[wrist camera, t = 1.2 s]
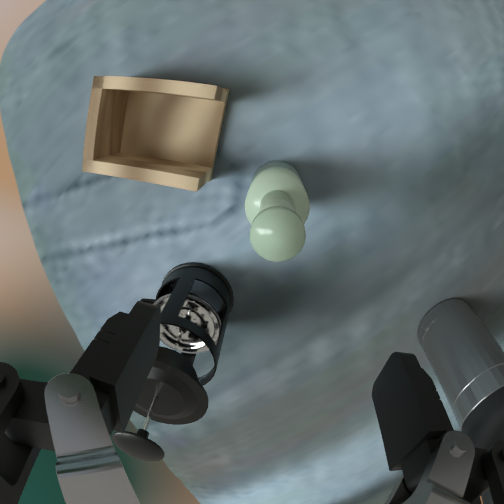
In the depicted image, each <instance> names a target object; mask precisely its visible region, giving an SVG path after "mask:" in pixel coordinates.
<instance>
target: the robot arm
mask: <svg viewBox="0 0 504 504" xmlns="http://www.w3.org/2000/svg"><path fill="white" fill-rule="evenodd" d="M160 322H161V308H160V306H156V305H152V304H149V303H145V302H141V301H138V302H137V303H136V304H135V306H134V307H133V309H132V310H131V311H130V313H129V314H127V313H123V312H119V313H117V314H115V315H114V316H112V317H110V318H109V319H108V320H107V321H106V322H105V324H104V325H103V326H102V328H101V330H100V331H99V332H98V333H97V335H96V336H95V338H94V340H92V342H91V343H90V345H89V346H88V348H87V349H86V350H85V352H84V354H83V355H82V356H81V358H80V359H79V361H78V362H77V364H76V365H75V367H74V368H73V370H72V371H71V372H70V373H65V374H60V375H58V376H56V377H54V378H52V379H51V380H50V381H49V382H37V381H31V380H24V379H20V378H19V375H18V373H17V371H16V370H15V368H13V367H12V366H11V365H9V364H7V363H2V362H0V504H18V501H19V499H20V496H21V494H22V491H23V489H24V487H25V484H26V482H27V479H28V477H29V475H30V472H31V470H32V468H33V465H34V463H35V461H36V459H37V456H38V454H39V452H40V450H41V449H46V450H53V451H55V452H56V456H57V463H56V472H57V476H58V480H59V483H60V486H61V490H62V493H63V496H64V499H65V502H66V504H140V503H139V500H138V499H137V496H136V494H135V492H134V490H133V488H132V486H131V484H130V482H129V479H128V477H127V475H126V472H125V470H124V468H123V466H122V463H121V461H120V459H119V456H118V454H117V453H116V451H115V449H114V446H113V444H112V441H111V438H110V436H111V434H112V431H113V430H114V431H117V432H120V433H124V430H125V428H126V426H127V424H128V421H129V419H130V416H131V414H132V412H133V409H134V407H135V405H136V402H137V400H138V398H139V395H140V393H141V391H142V389H143V386H144V384H145V382H146V379H147V377H148V375H149V373H150V370H151V368H152V366H153V364H154V362H155V359H156V357H157V353H158V349H159V343H160ZM418 339H419V342H420V344H421V346H422V348H423V350H424V352H425V354H426V356H427V358H428V360H429V362H430V364H431V366H432V368H433V370H434V372H435V374H436V376H437V378H438V380H439V382H440V384H441V387H442V389H443V391H444V393H445V395H446V397H447V400H448V402H449V404H450V406H451V409H452V411H453V413H454V415H455V417H456V420H457V422H458V425H459V427H460V429H461V432H460V431H456V430H453V427H452V425H451V422H450V420H449V418H448V415H447V413H446V410H445V408H444V406H443V403H442V401H441V400H440V396H439V394H438V392H437V391H436V387H435V385H434V383H433V381H432V379H431V377H430V376H429V375H428V374H427V373H426V372H425V371H424V369H422V368H421V367H420V365H419V362H418V360H417V358H416V356H415V355H414V354H410V353H401V352H394V353H392V354H391V356H390V357H389V359H388V361H387V362H386V364H385V366H384V367H383V369H382V371H381V372H380V374H379V376H378V377H377V379H376V381H375V382H374V385H373V389H372V398H373V402H374V406H375V410H376V414H377V418H378V422H379V426H380V430H381V434H382V439H383V443H384V447H385V452H386V456H387V461H388V466H389V470H390V471H394V470H402V471H403V475H402V476H401V477H400V478H399V479H398V481H397V482H396V484H395V486H394V488H393V490H392V492H391V493H390V495H389V497H388V499H387V500H386V502H385V504H481V500H480V496H482V500H483V504H504V352H503V351H502V348H501V347H500V345H499V344H498V343H497V341H496V340H495V338H494V337H493V336H492V334H491V333H490V332H489V331H488V329H487V328H486V327H485V325H484V324H483V323H482V321H481V320H480V319H479V318H478V316H477V315H476V314H475V313H474V312H473V311H472V310H471V309H470V307H469V306H468V305H467V304H466V303H465V302H464V301H462V300H460V299H449V300H446V301H443V302H441V303H439V304H438V305H436V306H435V307H433V308H432V309H431V310H430V311H429V312H428V313H427V314H426V316H425V317H424V319H423V320H422V322H421V324H420V326H419V330H418Z"/></svg>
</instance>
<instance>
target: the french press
mask: <svg viewBox="0 0 504 504" xmlns="http://www.w3.org/2000/svg"><path fill="white" fill-rule="evenodd" d="M177 279H179V281H178V283H177V284H176V286H175V288H174V290H173V292H172V293H171V286H172V284H173V283H174V281H175V280H177ZM195 280H198V281H201V282H204V283H206V284H208V285H209V286H211V287H212V288H213V289H215V290H216V291H217V292H218V293H219V295H220V296H221V298H222V299H223V304H222V307H221V309H220V310H219V312H218V313H217V312H216V310H215V309H214V308H213V307H212V306H211V305H210V304H209V303H208V302H207V301H205V300H204V299H203V298H201V297H199V296H197V295H195V294H192V293H189V292H190V290H191V288H192V285H193V283H194V281H195ZM140 301H141V302H145V303H149V304H152V305H156V306H160V308H161V322H160V340H161V341H162V342H163V343H164V344H165V345H167V346H168V347H170V348H172V349H173V350H171V349H168V348H165V347H160V346H159V349H158V353H157V357H156V359H155V362H154V364H153V366H152V368H151V370H150V373H149V375H148V377H147V379H146V382H145V384H144V386H143V389H142V391H141V393H140V395H139V398H138V400H137V402H136V405H135V407H134V409H133V410H134V411H135V412H137V413H139V414H140V415H142V416H144V417H146V420H145V423H144V426H143V428H142V429H138V431H137V434H135V433H132V432H127V431H124V433H120V432H115V433H114V434H113V436H112V438H113V442H114V443H115V444H116V446H118V447H119V448H120V449H121V450H122V451H124V452H125V453H127V454H129V455H130V456H133V457H135V458H138V459H141V460H145V461H160V460H162V459H163V458H164V451H163V450H162V448H161V447H160V446H159V445H157V444H156V443H155V442H153V441H151V440H150V439H148V435H149V433H148V432H147V431H146V430H147V427H148V424H149V422H150V419H151V420H154V421H157V422H161V423H166V424H174V425H177V424H188V423H192V422H195V421H197V420H199V419H200V418H202V417H203V415H204V414H205V413H206V411H207V408H208V396H207V393H206V391H205V389H204V388H203V385H205V384H206V383H208V382H209V381H210V380H211V379H212V378H213V376H214V374H215V372H216V368H217V364H218V360H219V355H220V351H221V346H222V342H223V337H224V333H225V329H226V324H227V320H228V316H229V313H230V312H231V309H232V306H233V292H232V289H231V286H230V284H229V283H228V281H227V279H226V278H225V277H224V276H223V275H222V274H221V273H220V272H218V271H217V270H216V269H214V268H212V267H210V266H207V265H204V264H200V263H185V264H181V265H178V266H176V267H174V268H173V269H172V270H170V271H169V272H168V274H167V275H166V276H165V278H164V280H163V282H162V286H161V287H160V289H159V291H158V293H157V295H156V300H155V299H141V300H140ZM176 350H177V351H180V352H182V353H181V354H180V353H178V352H176ZM208 350H210V351H211V353H212V356H213V358H214V363H215V366H214V367H213V369H212V370H211V371H210V372H209V373H208V374H206V375H204V376H202V377H200V378H198V377H197V374H196V371H195V369H194V368H193V362H194V359H195V356H196V353H202V352H205V351H208Z"/></svg>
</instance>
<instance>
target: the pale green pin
mask: <svg viewBox="0 0 504 504" xmlns="http://www.w3.org/2000/svg"><path fill="white" fill-rule="evenodd" d="M309 209H310V204H309V198H308V196H307V193H306V191H305V188H304V186H303V183H302V181H301V178H300V176H299V174H298V172H297V171H296V169H295V168H294V167H293V166H291V165H290V164H288V163H286V162H283V161H270V162H267V163H265V164H263V165H262V166H261V167H260V168H259V169H258V170H257V171H256V173H255V175H254V177H253V180H252V183H251V185H250V188H249V191H248V194H247V197H246V200H245V212H246V216H247V219H248V221H249V222H250V224H251V230H250V241H251V244H252V247H253V248H254V250H255V251H256V252H257V253H258V254H259V255H260V256H261V257H263V258H265V259H267V260H270V261H277V262H279V261H286V260H289V259H291V258H293V257H294V256H296V255H297V254H298V253H299V252H300V250H301V249H302V247H303V245H304V243H305V237H306V234H305V228H304V223H305V222H306V220H307V218H308V215H309Z"/></svg>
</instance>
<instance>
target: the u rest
mask: <svg viewBox="0 0 504 504" xmlns="http://www.w3.org/2000/svg"><path fill="white" fill-rule="evenodd" d="M228 94H229V89H225V88H220V87H218V86H215V85H208V84H201V83H193V82H184V81H175V80H165V79H153V78H138V77H114V76H94V79H93V85H92V91H91V97H90V103H89V110H88V117H87V125H86V134H85V143H84V154H83V167H82V171H85V172H91V173H97V174H104V175H110V176H116V177H121V178H127V179H133V180H139V181H144V182H150V183H155V184H160V185H166V186H171V187H176V188H181V189H186V190H191V191H196V192H197V191H198V190H199V189H200V188H201V187H202V186H203V185H204V184H205V183H206V182H207V181H211V179H212V174H213V168H214V163H215V158H216V152H217V147H218V142H219V137H220V132H221V127H222V122H223V118H224V113H225V108H226V103H227V99H228Z"/></svg>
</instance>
